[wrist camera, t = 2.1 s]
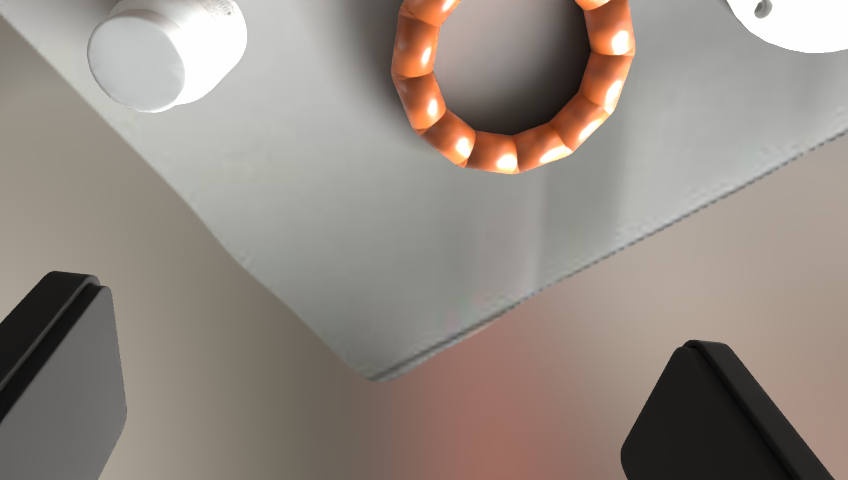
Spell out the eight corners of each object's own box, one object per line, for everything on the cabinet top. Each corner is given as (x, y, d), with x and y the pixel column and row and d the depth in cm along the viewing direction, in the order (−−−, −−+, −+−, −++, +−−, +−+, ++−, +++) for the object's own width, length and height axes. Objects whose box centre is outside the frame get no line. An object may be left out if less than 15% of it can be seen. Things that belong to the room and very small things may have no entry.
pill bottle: (143, -27, 25) (54, -4, 18) (242, -21, 25) (191, 3, 18) (161, 71, 27) (88, 124, 20) (252, 75, 27) (209, 128, 21)
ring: (659, -51, 25) (678, -48, 24) (581, 175, 31) (592, 190, 30) (413, -100, 24) (415, -101, 22) (379, 147, 30) (379, 162, 28)
